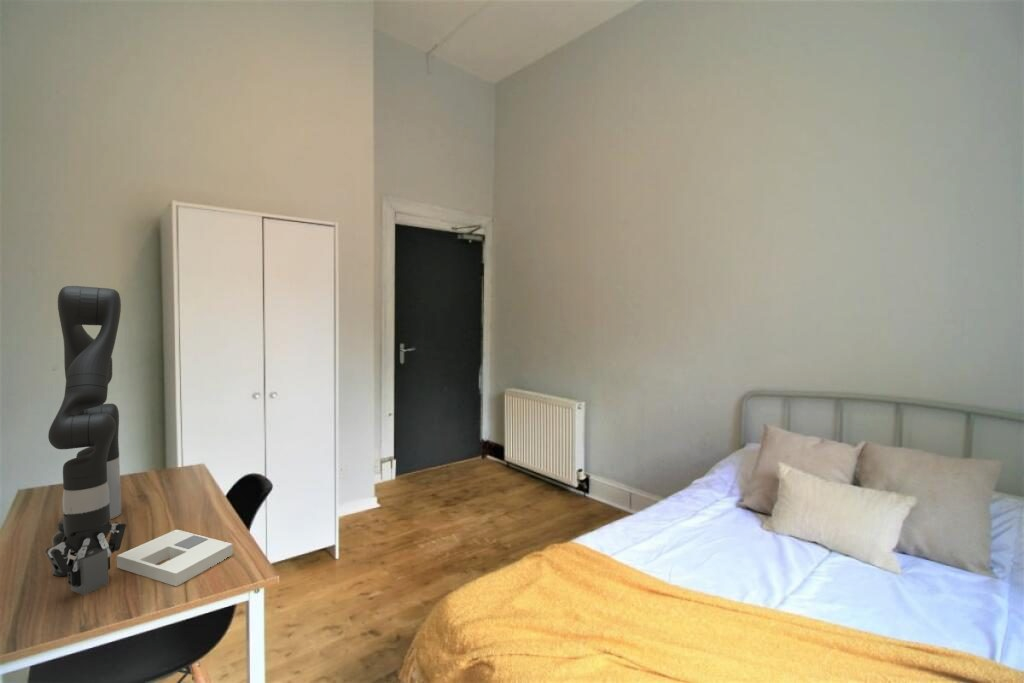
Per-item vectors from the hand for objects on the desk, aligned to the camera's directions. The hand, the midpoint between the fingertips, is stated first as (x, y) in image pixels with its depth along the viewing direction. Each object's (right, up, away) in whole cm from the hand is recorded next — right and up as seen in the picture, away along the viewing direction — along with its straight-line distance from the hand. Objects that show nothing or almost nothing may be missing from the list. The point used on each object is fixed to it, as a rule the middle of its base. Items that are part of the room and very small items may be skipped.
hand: (89, 579), depth 102 cm
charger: (0, -2, 0) cm, 2 cm away
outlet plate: (+11, -1, +11) cm, 16 cm away
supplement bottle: (-10, -1, +7) cm, 12 cm away
